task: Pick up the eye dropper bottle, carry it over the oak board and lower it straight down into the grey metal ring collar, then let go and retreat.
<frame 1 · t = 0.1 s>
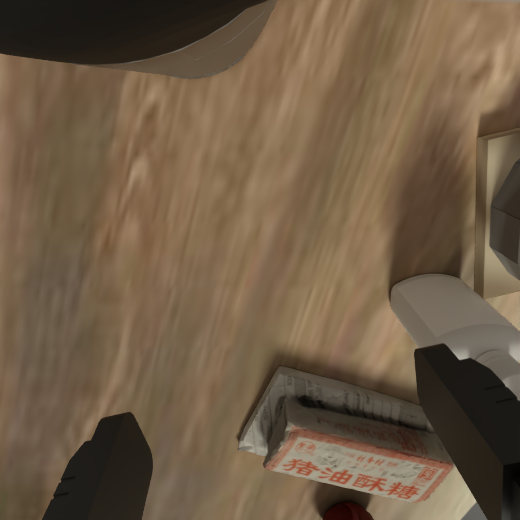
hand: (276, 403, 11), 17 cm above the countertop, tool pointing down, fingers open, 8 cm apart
red-capped knob on stick: (341, 512, 41), on the countertop
eye dropper bottle: (422, 290, 30), on the countertop
packaged product: (342, 421, 36), on the countertop
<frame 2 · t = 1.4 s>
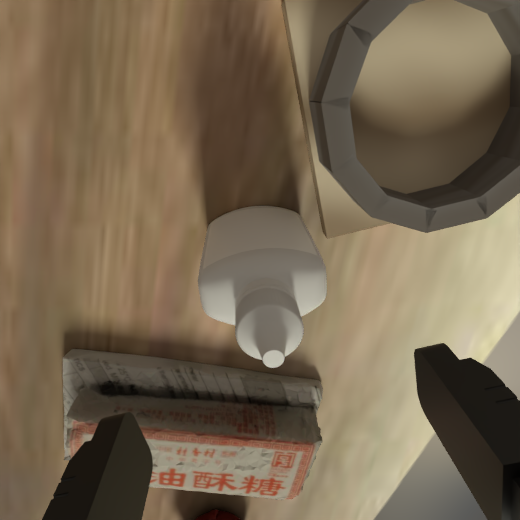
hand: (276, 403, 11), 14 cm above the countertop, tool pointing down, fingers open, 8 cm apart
collar board: (412, 103, 21), on the countertop
eye dropper bottle: (255, 231, 23), on the countertop
packaged product: (193, 408, 29), on the countertop
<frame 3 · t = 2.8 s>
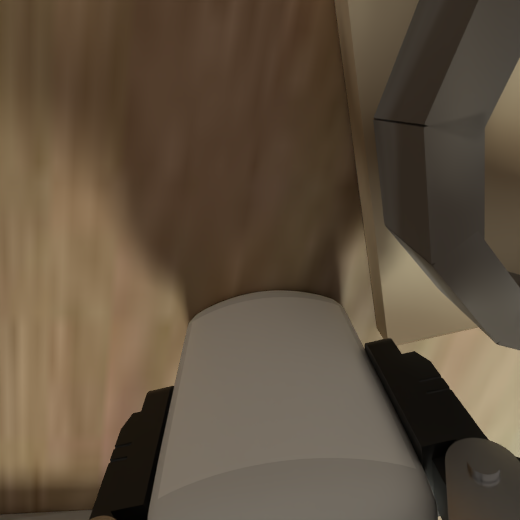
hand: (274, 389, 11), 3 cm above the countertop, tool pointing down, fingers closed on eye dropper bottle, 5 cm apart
eye dropper bottle: (266, 326, 14), on the countertop, touching gripper
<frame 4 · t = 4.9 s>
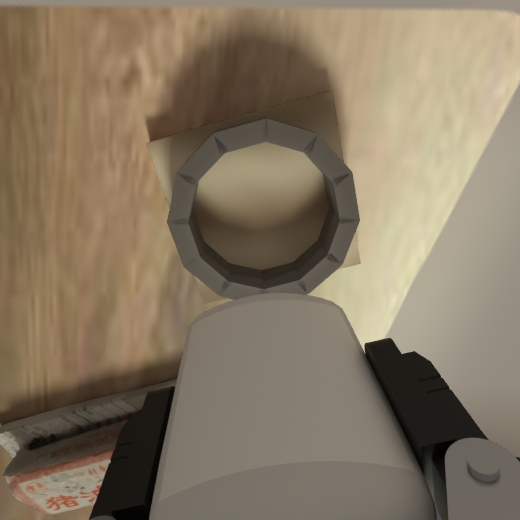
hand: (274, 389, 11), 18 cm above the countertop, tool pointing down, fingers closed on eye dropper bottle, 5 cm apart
collar board: (260, 203, 27), on the countertop
eye dropper bottle: (266, 328, 14), point 14 cm above the countertop, touching gripper
packaged product: (120, 432, 36), on the countertop
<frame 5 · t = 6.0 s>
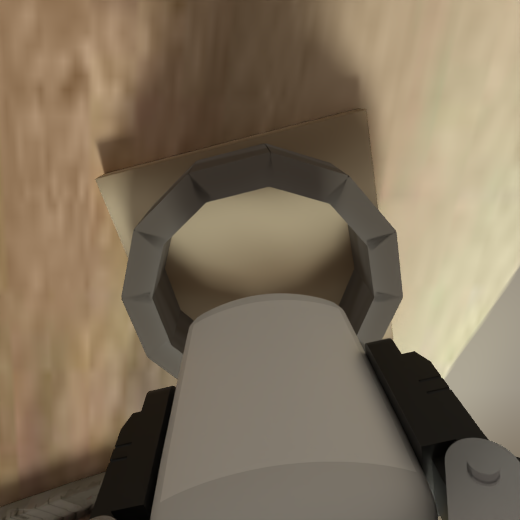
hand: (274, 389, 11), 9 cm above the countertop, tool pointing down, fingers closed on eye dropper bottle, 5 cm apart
collar board: (259, 258, 20), on the countertop
eye dropper bottle: (267, 329, 14), point 6 cm above the countertop, touching gripper
when the fingers open (6 cm above the countertop, at t = 7.0 s): eye dropper bottle drops 2 cm, resting on collar board.
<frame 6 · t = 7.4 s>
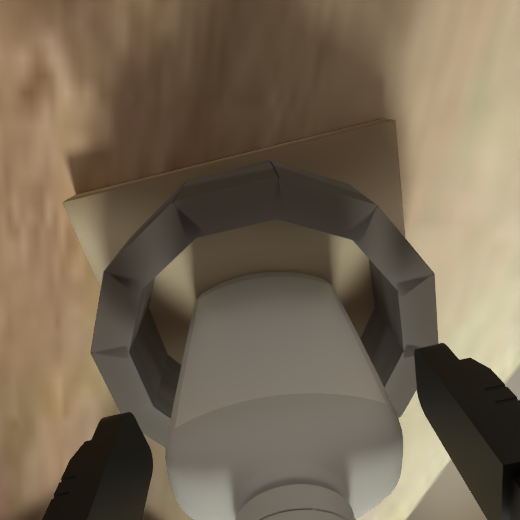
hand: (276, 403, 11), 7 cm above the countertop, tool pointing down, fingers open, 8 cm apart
collar board: (262, 293, 17), on the countertop
eye dropper bottle: (265, 305, 16), point 1 cm above the countertop, touching collar board
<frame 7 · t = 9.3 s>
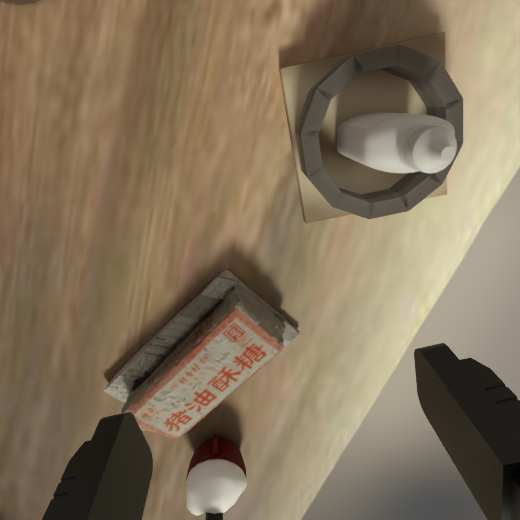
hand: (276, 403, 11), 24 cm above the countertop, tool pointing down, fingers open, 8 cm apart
red-capped knob on stick: (217, 451, 43), on the countertop
collar board: (365, 134, 31), on the countertop
eye dropper bottle: (369, 135, 30), point 1 cm above the countertop, touching collar board
packaged product: (201, 352, 39), on the countertop
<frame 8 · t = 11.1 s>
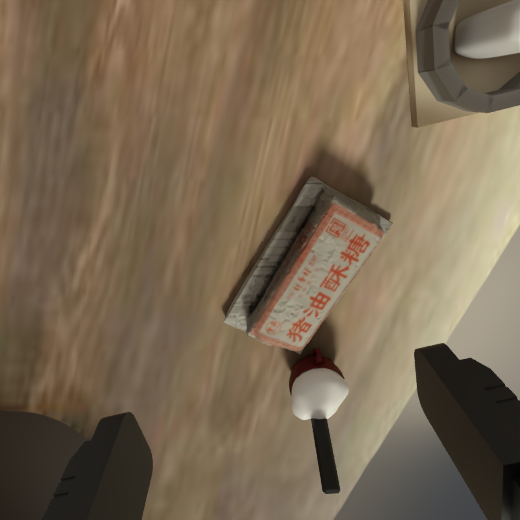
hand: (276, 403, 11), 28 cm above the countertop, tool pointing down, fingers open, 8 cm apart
red-capped knob on stick: (310, 369, 46), on the countertop
collar board: (476, 37, 33), on the countertop
eye dropper bottle: (484, 35, 32), point 1 cm above the countertop, touching collar board
packaged product: (302, 268, 41), on the countertop
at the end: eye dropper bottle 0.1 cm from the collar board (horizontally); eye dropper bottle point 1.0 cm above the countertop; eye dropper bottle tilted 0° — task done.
